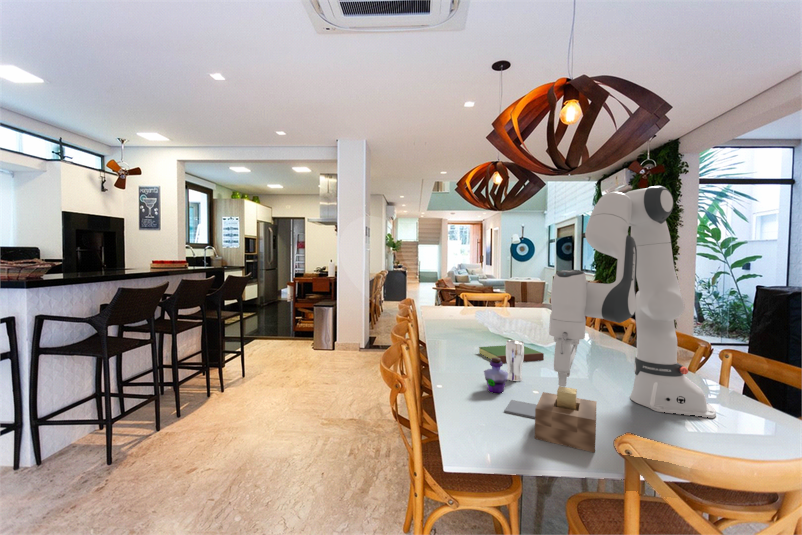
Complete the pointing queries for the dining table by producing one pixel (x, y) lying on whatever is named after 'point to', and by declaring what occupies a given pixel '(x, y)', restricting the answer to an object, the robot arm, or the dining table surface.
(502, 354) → the hardcover book
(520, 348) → the beer glass
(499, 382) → the potion bottle
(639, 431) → the dining table surface
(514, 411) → the slate pad
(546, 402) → the wooden slotted box
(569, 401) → the tan wooden block
